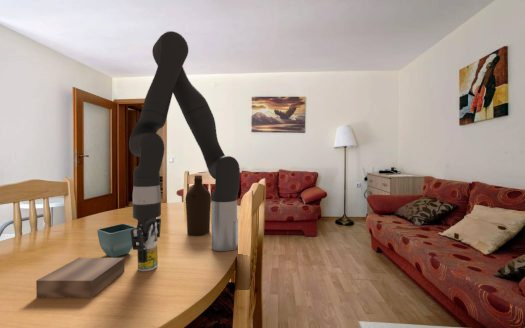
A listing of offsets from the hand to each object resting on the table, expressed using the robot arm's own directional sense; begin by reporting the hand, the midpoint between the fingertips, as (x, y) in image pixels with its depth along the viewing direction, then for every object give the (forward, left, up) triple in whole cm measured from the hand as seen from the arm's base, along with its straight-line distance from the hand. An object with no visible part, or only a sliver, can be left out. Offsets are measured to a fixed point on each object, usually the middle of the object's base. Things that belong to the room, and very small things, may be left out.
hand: (147, 257), depth 72 cm
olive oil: (-6, -34, -3) cm, 35 cm away
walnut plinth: (+12, +9, -3) cm, 15 cm away
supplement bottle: (0, 0, -3) cm, 3 cm away
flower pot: (+15, -10, -3) cm, 18 cm away
